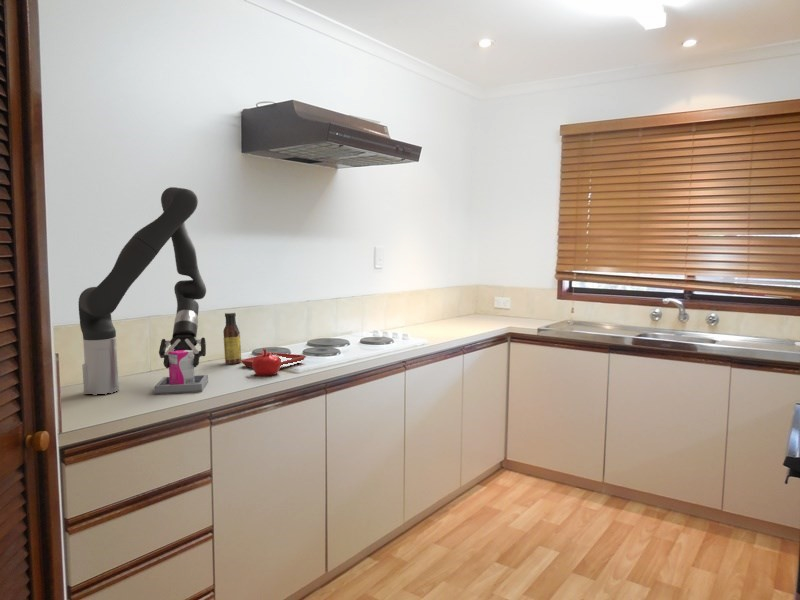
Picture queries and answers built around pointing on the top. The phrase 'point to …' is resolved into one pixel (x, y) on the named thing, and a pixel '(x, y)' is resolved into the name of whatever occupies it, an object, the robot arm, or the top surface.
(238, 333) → the sauce bottle
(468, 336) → the top surface
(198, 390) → the tray
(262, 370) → the pomegranate
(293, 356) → the red square tray
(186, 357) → the supplement box
